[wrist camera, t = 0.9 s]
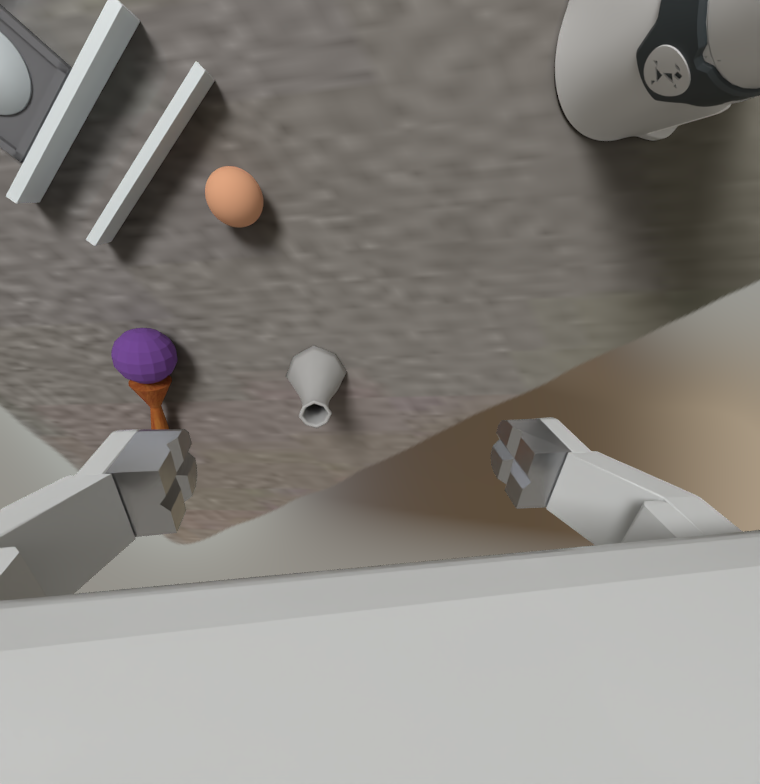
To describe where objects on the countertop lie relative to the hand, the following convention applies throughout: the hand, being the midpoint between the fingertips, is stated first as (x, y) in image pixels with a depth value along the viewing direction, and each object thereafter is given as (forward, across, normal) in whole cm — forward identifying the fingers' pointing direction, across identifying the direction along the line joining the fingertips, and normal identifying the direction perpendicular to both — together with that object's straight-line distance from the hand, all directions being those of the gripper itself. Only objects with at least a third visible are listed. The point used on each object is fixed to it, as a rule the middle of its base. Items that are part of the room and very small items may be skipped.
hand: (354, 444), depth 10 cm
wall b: (+34, +21, -10) cm, 42 cm away
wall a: (+34, +16, -7) cm, 38 cm away
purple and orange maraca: (+35, +20, +18) cm, 44 cm away
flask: (+35, +1, +14) cm, 38 cm away
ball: (+34, +8, -5) cm, 36 cm away
